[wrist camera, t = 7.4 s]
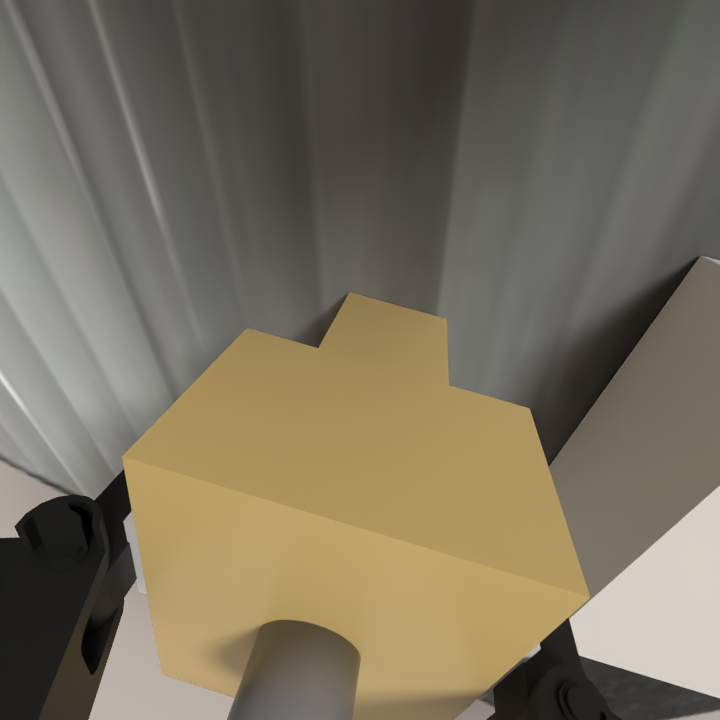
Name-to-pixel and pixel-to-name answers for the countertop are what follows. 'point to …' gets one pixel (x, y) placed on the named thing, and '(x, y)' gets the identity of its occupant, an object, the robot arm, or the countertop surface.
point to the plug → (348, 527)
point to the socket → (653, 498)
